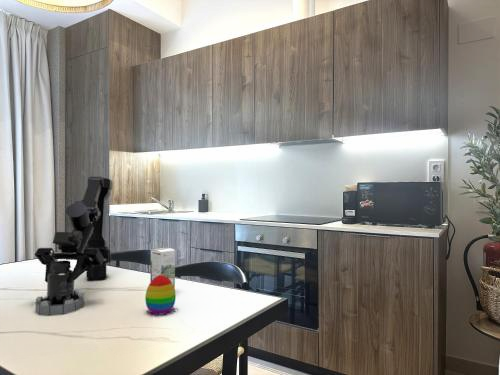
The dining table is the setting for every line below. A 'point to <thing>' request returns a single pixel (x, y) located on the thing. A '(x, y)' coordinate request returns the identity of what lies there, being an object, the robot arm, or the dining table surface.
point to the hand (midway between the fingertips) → (58, 281)
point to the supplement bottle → (59, 283)
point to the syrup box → (163, 263)
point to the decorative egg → (160, 295)
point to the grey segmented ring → (59, 305)
